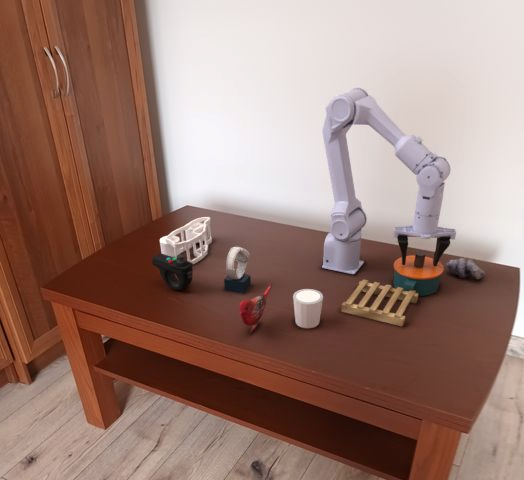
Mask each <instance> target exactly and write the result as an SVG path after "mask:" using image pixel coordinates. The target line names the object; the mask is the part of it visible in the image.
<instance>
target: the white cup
mask: <svg viewBox="0 0 524 480" xmlns="http://www.w3.org/2000/svg"><path fill="white" fill-rule="evenodd" d="M292 299H293V309H294V320H295V324H296V325H297V326H298V327H300V328H302V329H313V328H316V327H317V326H319V324H320V322H321V321H320V320H321V314H322V308H323V301H324V295H323V293H322V292H321V291H320V290H317V289H312V288H303V289H299V290H297V291H295V292H294V293H293V294H292Z"/></svg>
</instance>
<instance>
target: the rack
mask: <svg viewBox="0 0 524 480" xmlns="http://www.w3.org/2000/svg"><path fill="white" fill-rule="evenodd" d="M403 289H404V288H401V287H398V288H397V289H396V288H395V287H393V285H391V284H387V283H386V284H385V285H381V282H377V281H374V282H373V283H372V282H369V280H367V279H362V280H359V281H358V283H357V287H356V288H355V289H354V291H353V292H352V293H351V295H350V296H349V297H348V299H347V300H346V301H343V303H341V307H340V308H341V310H340V312H341V313H345V314H349V315H353V316H357V317H362V318H365V319H370V320H373V321H378V322H381V323H385V324H390V325H394V326H397V327H403V326H404V325H405V323H406V316H405V315H404V313H405V312H406V310H407V308H408V306H409V304H410V303H411V304H417V302H418V300H419V296H418V293H415V292H416V291H415V290H410V291H405V290H403ZM362 292H363V293H365V295H364V296H363V297H362V299H361V300H360V301H359V302H358V304H357V303H355V301H356V300H357V298H358V297H359V296H360V294H361V293H362ZM374 295H377V297H376V298H375V300H374V301H373V303H372V304H371V305H370V307H368V306H366V305H367V304H368V303H369V301H370V300H371V298H372V297H373V296H374ZM385 298H389V299H388V301H387V303H386V305H385V306H384V307H383V310H381V309H378V308H379V307H380V305H381V304H382V302H383V301H384V299H385ZM398 300H399V301H402V302H401V304H400V305H399V307H398V308H397V310H396V312H395V313H394V312H391V310H392V309H393V307H394V305H395V304H396V303H397V301H398Z"/></svg>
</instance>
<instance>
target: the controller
mask: <svg viewBox="0 0 524 480" xmlns="http://www.w3.org/2000/svg"><path fill="white" fill-rule="evenodd" d="M185 257H186V256H185V254H182V253H180V254H179V255H177V256H176V258H175V257H171V256H168V255H165V254H162V253H158V254H156V255H154V256H152V259H151V264H152V265H153V266H154V267H156V268H157V269H158V270H159V273H160V276H161V278H162V280H163V282H164V283H165V284H166V285H167V286H168V287H169V288H171V289H172V290H174V291H182V290H185V289H186V288H188V287H189V286H190V285H191V283H192V280H193V277H194V276H193V273H194V269H193V265H194V264H193V263H191V262H189V261H188V260H187V259H185Z"/></svg>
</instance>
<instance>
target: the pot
mask: <svg viewBox="0 0 524 480" xmlns="http://www.w3.org/2000/svg"><path fill="white" fill-rule="evenodd" d="M441 277H442V274H441V275H440V276H438V277H436V278H432V279H413V278H409V277H405V276H403V275H401V274H399V273H398V272H397V271H396V270H395V269H394V274H393V283H392V284H393V286H394V288H395V289H397V288H398V287H401V288H404V289H403V290H405V291H410V290H415V291H416V292H415V293H418V297H424V296H430V295H433V294H435V293H436V292H437V291H438V289H439V286H440V282H441Z"/></svg>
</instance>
